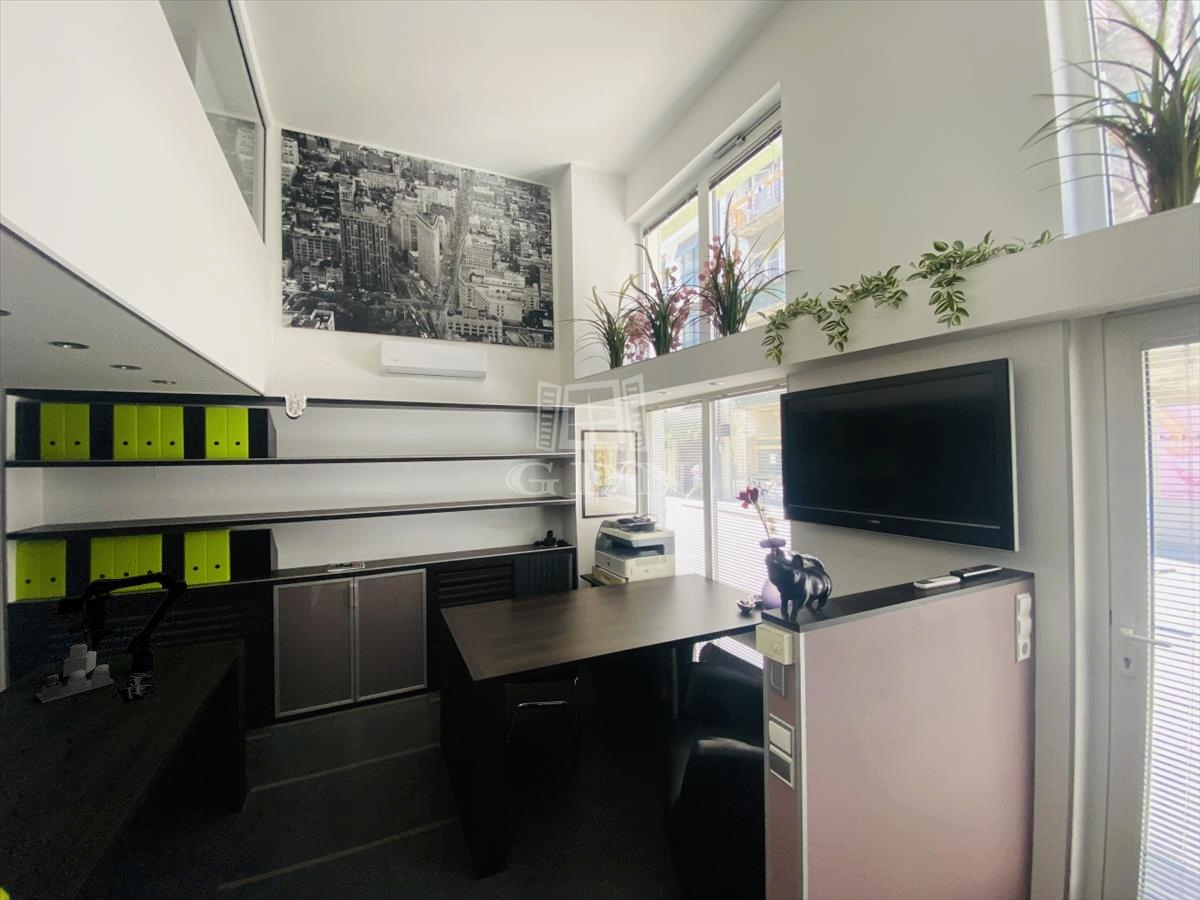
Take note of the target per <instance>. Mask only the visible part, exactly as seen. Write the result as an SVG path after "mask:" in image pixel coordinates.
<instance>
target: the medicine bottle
mask: <svg viewBox="0 0 1200 900" xmlns="http://www.w3.org/2000/svg"><path fill="white" fill-rule="evenodd" d="M69 649H70V650H69V656H68V657H67V658H65V659H64V660H63V670H62V672H63V673H62V677H63V678H65V677H66V678H67V677H70V673H72V672H75V671H80V670H85V675H87V674H88V673H90V672H91V671H93V670H94V667H96V661H97V651H92V648H91V645H90V642H89V641H83V642H78V643H75V644H73V645H71V646H70V648H69Z"/></svg>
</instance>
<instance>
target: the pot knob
mask: <svg viewBox="0 0 1200 900" xmlns="http://www.w3.org/2000/svg"><path fill="white" fill-rule="evenodd" d="M59 680H60V674H57V673H56V674H52V675H47V676H46V678H45V683H46V684H49V686H48V687H52V686H56V682H59Z"/></svg>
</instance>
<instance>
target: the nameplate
mask: <svg viewBox="0 0 1200 900" xmlns="http://www.w3.org/2000/svg"><path fill="white" fill-rule="evenodd" d="M152 679H153V675H151V674H149V675H148V674H147V673H143V672H139V673H129V675H128V677H127V680H128V683H127V684H128V687H124V688H123V687H122V688H119V689H118V690H117V693H118V694H121V693H126V696H127V697H126V698H127V701H128V703H132V702H134V698H136V699H137V698H139V699H144V698H145V696H146V695H147V694H148V689H150V690H151V689H153V688H154V684H143V683H144V681H148V680H149V681H150V680H152Z"/></svg>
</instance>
